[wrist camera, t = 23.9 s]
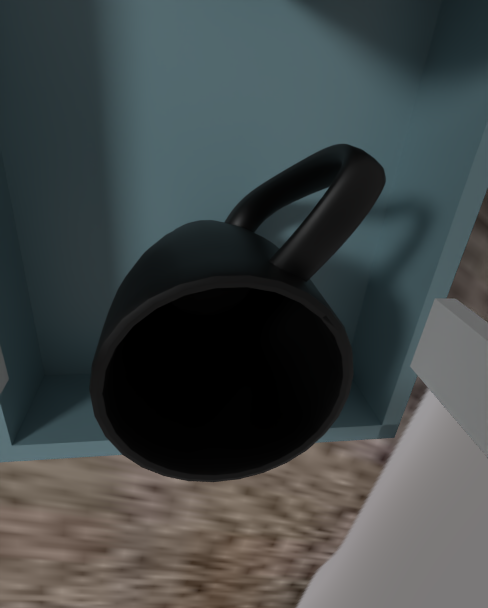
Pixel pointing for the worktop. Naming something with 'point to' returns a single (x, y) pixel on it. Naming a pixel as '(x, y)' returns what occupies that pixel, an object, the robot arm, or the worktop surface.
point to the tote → (226, 174)
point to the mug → (234, 332)
